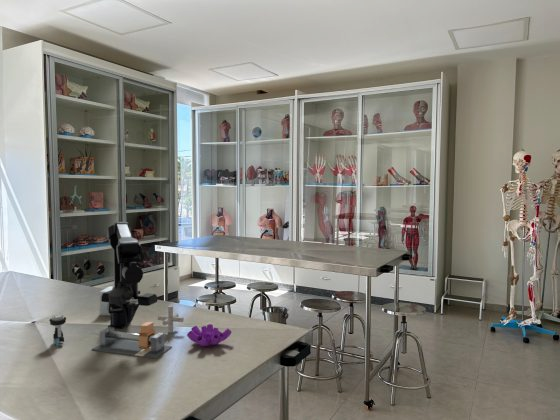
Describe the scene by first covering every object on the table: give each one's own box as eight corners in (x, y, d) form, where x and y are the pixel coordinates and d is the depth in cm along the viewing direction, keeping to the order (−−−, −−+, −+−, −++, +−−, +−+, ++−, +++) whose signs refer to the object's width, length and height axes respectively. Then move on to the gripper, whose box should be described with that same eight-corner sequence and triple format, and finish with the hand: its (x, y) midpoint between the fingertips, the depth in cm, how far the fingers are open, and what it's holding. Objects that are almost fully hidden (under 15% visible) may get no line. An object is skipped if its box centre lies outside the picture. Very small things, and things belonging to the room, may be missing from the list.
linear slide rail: (100, 346, 147) (100, 331, 147) (109, 341, 152) (109, 326, 152) (156, 354, 141) (156, 338, 141) (164, 348, 146) (164, 333, 146)
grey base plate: (91, 350, 145) (91, 348, 145) (110, 339, 155) (110, 338, 155) (156, 358, 138) (156, 357, 138) (171, 347, 148) (171, 346, 148)
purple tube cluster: (218, 360, 146) (206, 343, 141) (189, 349, 155) (177, 333, 150) (236, 333, 152) (225, 316, 147) (207, 325, 161) (196, 308, 156)
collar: (139, 348, 143) (138, 325, 142) (147, 342, 148) (147, 321, 147) (146, 349, 142) (146, 326, 142) (155, 343, 147) (155, 321, 146)
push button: (70, 345, 149) (69, 317, 149) (53, 349, 146) (52, 320, 145) (64, 340, 154) (63, 313, 153) (48, 343, 150) (47, 316, 150)
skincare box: (114, 315, 183) (113, 291, 182) (99, 315, 183) (98, 291, 182) (123, 308, 193) (123, 286, 193) (109, 308, 194) (109, 285, 193)
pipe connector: (177, 337, 158) (176, 310, 157) (152, 335, 160) (152, 309, 159) (188, 328, 168) (188, 303, 167) (164, 326, 170) (164, 302, 169)
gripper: (89, 280, 140) (90, 327, 141) (139, 284, 135) (139, 332, 136) (111, 274, 151) (112, 317, 152) (158, 277, 146) (158, 322, 147)
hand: (129, 322), depth 146 cm, fingers closed
